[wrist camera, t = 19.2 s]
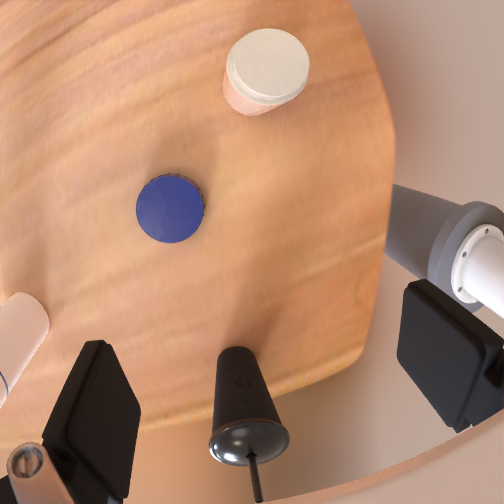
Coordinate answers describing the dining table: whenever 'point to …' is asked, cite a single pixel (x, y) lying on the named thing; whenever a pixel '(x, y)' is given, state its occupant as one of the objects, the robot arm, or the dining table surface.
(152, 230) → the lid
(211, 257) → the dining table surface
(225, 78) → the jar
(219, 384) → the drinking cup
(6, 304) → the cylindrical container
